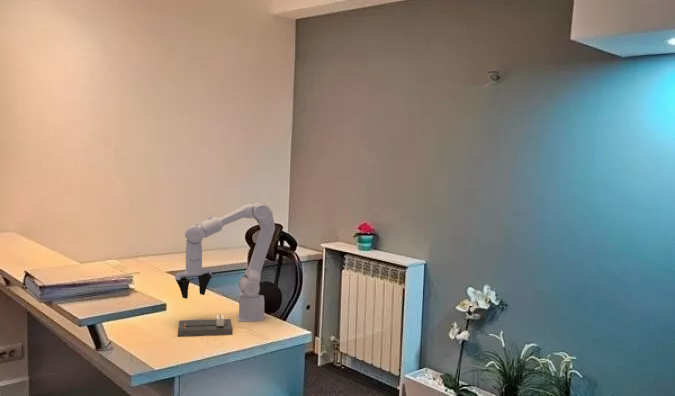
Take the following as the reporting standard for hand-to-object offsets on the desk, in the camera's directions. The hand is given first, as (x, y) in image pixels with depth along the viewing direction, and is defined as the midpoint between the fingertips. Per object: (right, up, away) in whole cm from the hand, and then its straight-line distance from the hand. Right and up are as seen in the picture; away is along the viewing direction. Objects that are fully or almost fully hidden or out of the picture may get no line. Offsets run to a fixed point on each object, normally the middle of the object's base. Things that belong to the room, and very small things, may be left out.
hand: (193, 296), depth 214 cm
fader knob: (+11, -8, -9) cm, 17 cm away
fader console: (+6, -10, -9) cm, 15 cm away
